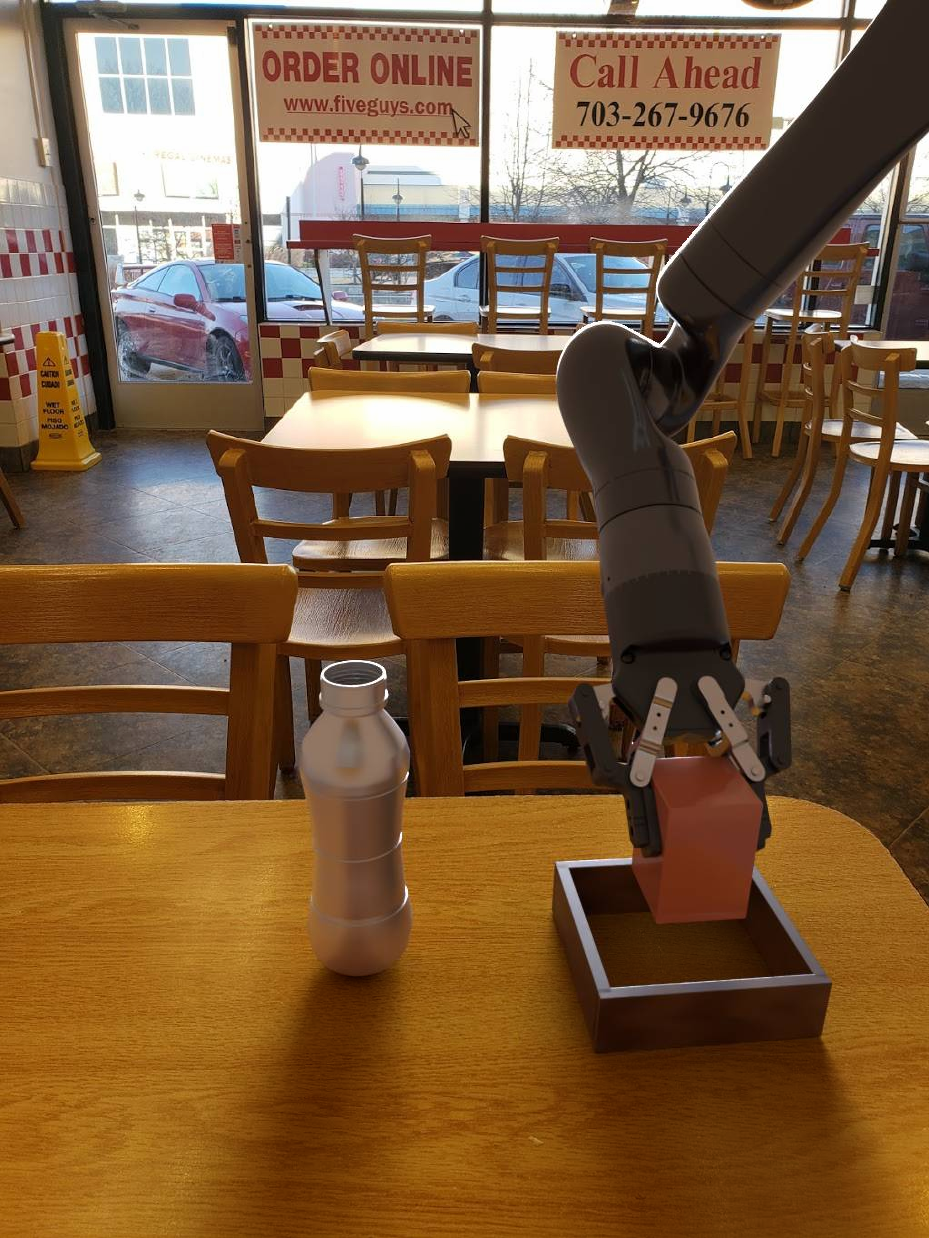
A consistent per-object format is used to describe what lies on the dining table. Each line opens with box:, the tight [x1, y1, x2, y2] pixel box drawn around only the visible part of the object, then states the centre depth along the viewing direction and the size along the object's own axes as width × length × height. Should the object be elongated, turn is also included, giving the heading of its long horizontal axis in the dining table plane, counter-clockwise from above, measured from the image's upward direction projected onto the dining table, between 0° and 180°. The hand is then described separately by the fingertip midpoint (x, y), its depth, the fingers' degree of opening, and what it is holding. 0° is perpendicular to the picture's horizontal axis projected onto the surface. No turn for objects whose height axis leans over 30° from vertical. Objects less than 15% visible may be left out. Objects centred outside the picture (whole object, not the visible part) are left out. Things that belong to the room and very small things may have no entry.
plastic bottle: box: [297, 660, 414, 977], centre depth 57 cm, size 6×7×20 cm
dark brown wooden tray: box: [551, 857, 833, 1054], centre depth 59 cm, size 14×13×4 cm
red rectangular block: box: [631, 755, 763, 925], centre depth 57 cm, size 6×6×8 cm
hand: (704, 851), depth 55 cm, fingers closed on red rectangular block, 5 cm apart
